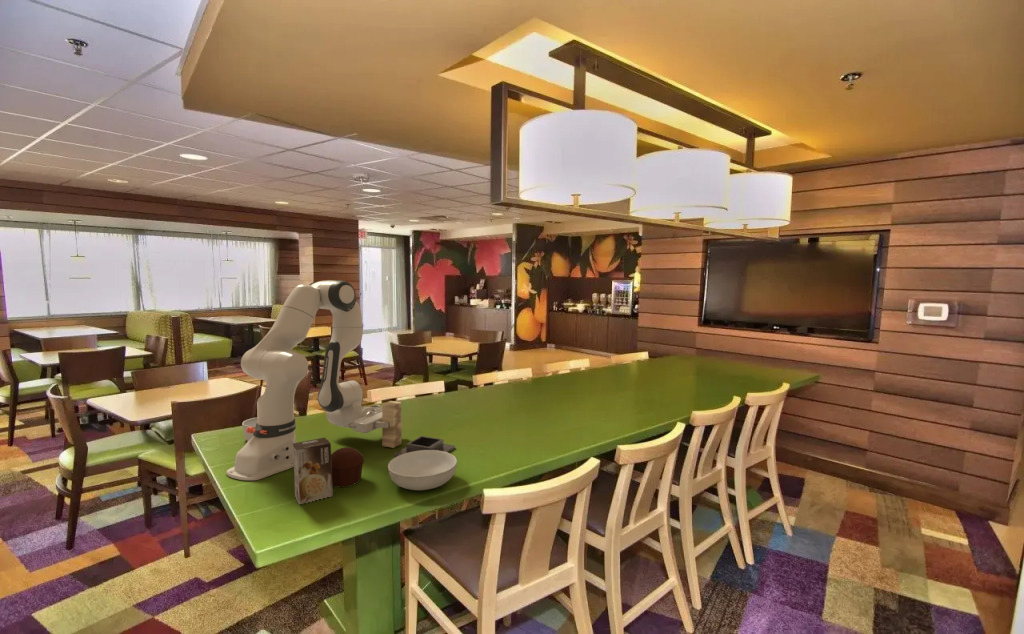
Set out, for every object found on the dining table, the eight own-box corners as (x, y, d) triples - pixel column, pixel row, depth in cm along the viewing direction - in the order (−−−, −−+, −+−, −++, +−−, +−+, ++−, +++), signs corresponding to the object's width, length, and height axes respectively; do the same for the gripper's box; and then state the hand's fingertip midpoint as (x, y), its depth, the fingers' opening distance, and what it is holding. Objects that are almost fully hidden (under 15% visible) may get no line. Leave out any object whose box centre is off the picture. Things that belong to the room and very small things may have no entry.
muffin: (365, 486, 140) (365, 454, 139) (326, 491, 136) (325, 459, 135) (363, 471, 151) (362, 441, 150) (326, 475, 147) (326, 445, 146)
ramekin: (287, 436, 183) (287, 419, 183) (255, 446, 172) (254, 428, 171) (268, 430, 190) (267, 414, 189) (235, 440, 179) (234, 422, 178)
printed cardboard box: (327, 488, 138) (326, 436, 137) (333, 497, 133) (332, 442, 132) (294, 496, 133) (292, 442, 131) (298, 505, 127) (297, 449, 126)
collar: (432, 463, 157) (432, 452, 157) (393, 456, 163) (393, 445, 163) (455, 448, 172) (455, 437, 172) (418, 442, 178) (418, 432, 178)
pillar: (393, 447, 171) (393, 405, 169) (382, 445, 172) (382, 404, 171) (401, 443, 175) (401, 402, 174) (390, 441, 177) (390, 400, 176)
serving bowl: (426, 464, 157) (426, 444, 157) (470, 481, 144) (470, 460, 143) (374, 484, 141) (373, 463, 141) (418, 506, 128) (417, 482, 127)
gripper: (345, 417, 168) (376, 422, 163) (380, 404, 187) (409, 407, 182) (345, 434, 169) (376, 439, 164) (380, 419, 188) (409, 423, 182)
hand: (393, 422), depth 173 cm, fingers closed on pillar, 5 cm apart
